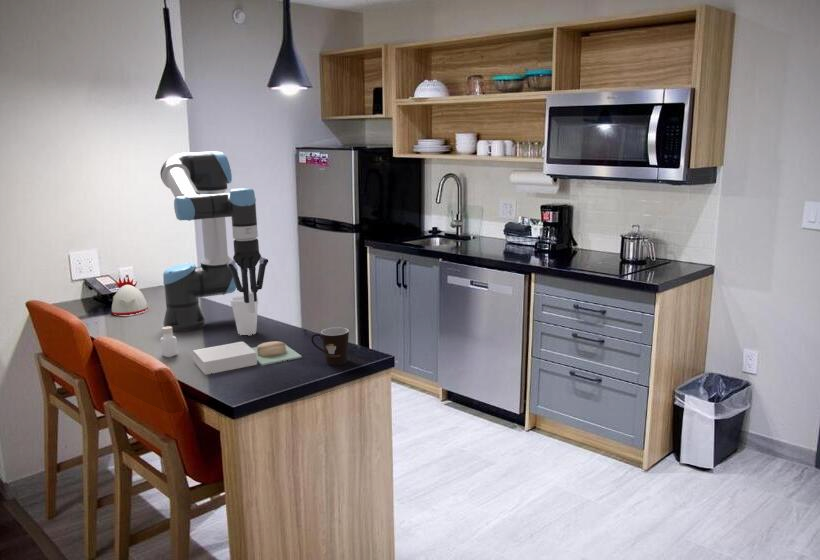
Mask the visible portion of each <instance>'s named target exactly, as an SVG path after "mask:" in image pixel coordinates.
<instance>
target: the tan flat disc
mask: <svg viewBox="0 0 820 560" xmlns="http://www.w3.org/2000/svg"><path fill="white" fill-rule="evenodd" d="M285 345H286V343H285V342H283V341H278V340H277V341H276V340H275V341H267V342H266V341H265V342H261V343H260V344H258V345H257V346H256V347H257V351H258V355H259V356H261V357H276V356H280V355H283V354H284V353H286V346H285Z"/></svg>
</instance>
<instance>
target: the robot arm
mask: <svg viewBox="0 0 820 560" xmlns="http://www.w3.org/2000/svg"><path fill="white" fill-rule="evenodd" d="M159 175H160V179H161V182H162V183H163V185H164V186H165V187H166V188H168V189H170V191H171V193H172V195H173V197H174V200H173V206H174V207H173V209H174V214H175V216H176V219H177V220H179V221H195V220H196V221H197V220H201V229H202V231H201V232H202V244H203V255H204V256H203V257H202V259H201V260H200V266H196V264H194V263H191V262H189V263H182V264H177V265H173V266H171V267H168V268H167V269H165V270H164V271H163V274H162V277H163V282H162V283H163V287H164V295H165V296H164V297H165V305H166V309H165V314H164V319H163V321H162V322H163V325H162V326H163V327H167V326H171V327H172V330H173V333H182V332H190V331H194V330H199V329H201V328H204V327H205V326H206V325H205V324H206V317H205V315H204V313H203V311H202V308H201V306H200V302H199V298H207V297H213V296H221V295H222V296H225V295H228V294H232V293H235V291H236V290H237V291H238V292H239V293H242V294H243V296H244V302H245V303H247V307H248V312H249V313H255V305H254V302H257V297H258V296H257V294H258V293H257V292H258V291H260V290H262V288H263V285H264V279H265V274H266V273H265V271H266V267H267V264H268V263H269V259H268V258H265V257H263V256H262V254H261V253H260V247H259V246H260V245H259V239H258V237H259V234H258V219H257V207H256V205H257V204H256V202H257V198H256V195H255V194H256V193H255V190H254V188H252V187H251V188H250V187H249V188H248V187H241V188H232V189H230V190H229V191H228V192H226V191H227V190H228V184H231V183H232V181H233V180H232V177H233V175H232V170H231V165H230V162H229V160H228V157H227V156H226V154H225V153H224V152H222V151H199V152H197V151H196V152H181V153H176V154H173V156H170V157H169V158H167V159H166V160H165V161H164V163H163V164H162V166H161V168H160V173H159ZM226 218H231V225H232V226H231V227H232V238H233V239H234V240H233V253H234V255H233V257H230V255H228V240H227V223H226ZM258 263H259V265H258ZM257 265H258V272H257V273H256V270H257V269H256V268H257V267H256V266H257ZM238 266H239V268H240V273H241V281H240V277H239V272H238ZM248 272H249V274H248ZM248 275H249V277H248ZM248 278H249V279H248ZM249 283H250V284H249ZM249 285H250V289H249ZM249 290H250V291H249ZM198 328H199V329H198Z"/></svg>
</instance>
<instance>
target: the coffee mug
mask: <svg viewBox="0 0 820 560" xmlns="http://www.w3.org/2000/svg"><path fill="white" fill-rule="evenodd" d="M349 331H350V330H349V329H348V328H346V327H340V326H339V327H338V326H337V327H328V328H325V329H322V330H321V331H320V334H319V333H314V334H313V335H312V336H311V339H310V341H311V343H312V345H313V346H314V347H315V348H317V349H318V350H319V351H321V352H322V353H324V357H325V358H324V359H325V362H326V365H328V366H332V365H333V366H336V365H337V366H342V364H343V365H344V364H347V362H348V353H349V352H348V351H349V337H350V336H349V334H350V333H349ZM315 337H320V339H321V340H322V347H323V348H321V347H320V346H318V345H317V344H316V343H315V340H314V338H315Z"/></svg>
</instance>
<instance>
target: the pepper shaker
mask: <svg viewBox="0 0 820 560" xmlns="http://www.w3.org/2000/svg"><path fill="white" fill-rule="evenodd" d="M161 333H162V337H161V338H160V349H161V356H163V357H166V358H171V357H175V356H177V355H179V349H178V342H177V341H178V340H177V337H176V336H175V335H173V334H174V332H173V330H172V327H171V326H167V327H164V326H162V328H161Z"/></svg>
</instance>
